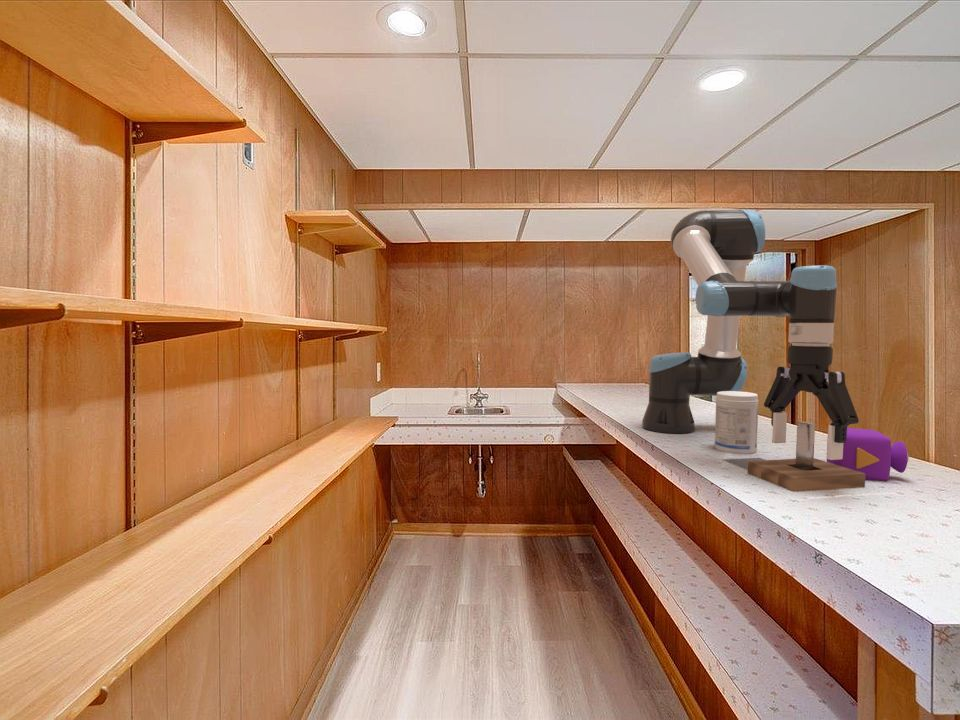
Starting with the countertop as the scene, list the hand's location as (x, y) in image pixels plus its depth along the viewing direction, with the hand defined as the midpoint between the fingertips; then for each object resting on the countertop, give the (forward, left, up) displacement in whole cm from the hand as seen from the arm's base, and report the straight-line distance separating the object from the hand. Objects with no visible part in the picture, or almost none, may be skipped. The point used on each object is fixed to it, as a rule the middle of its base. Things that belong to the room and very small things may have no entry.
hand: (804, 450), depth 102 cm
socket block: (0, 0, -6) cm, 6 cm away
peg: (0, 0, -6) cm, 6 cm away
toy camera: (-1, +16, -7) cm, 18 cm away
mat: (-11, -1, -6) cm, 13 cm away
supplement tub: (-25, +4, -7) cm, 26 cm away
